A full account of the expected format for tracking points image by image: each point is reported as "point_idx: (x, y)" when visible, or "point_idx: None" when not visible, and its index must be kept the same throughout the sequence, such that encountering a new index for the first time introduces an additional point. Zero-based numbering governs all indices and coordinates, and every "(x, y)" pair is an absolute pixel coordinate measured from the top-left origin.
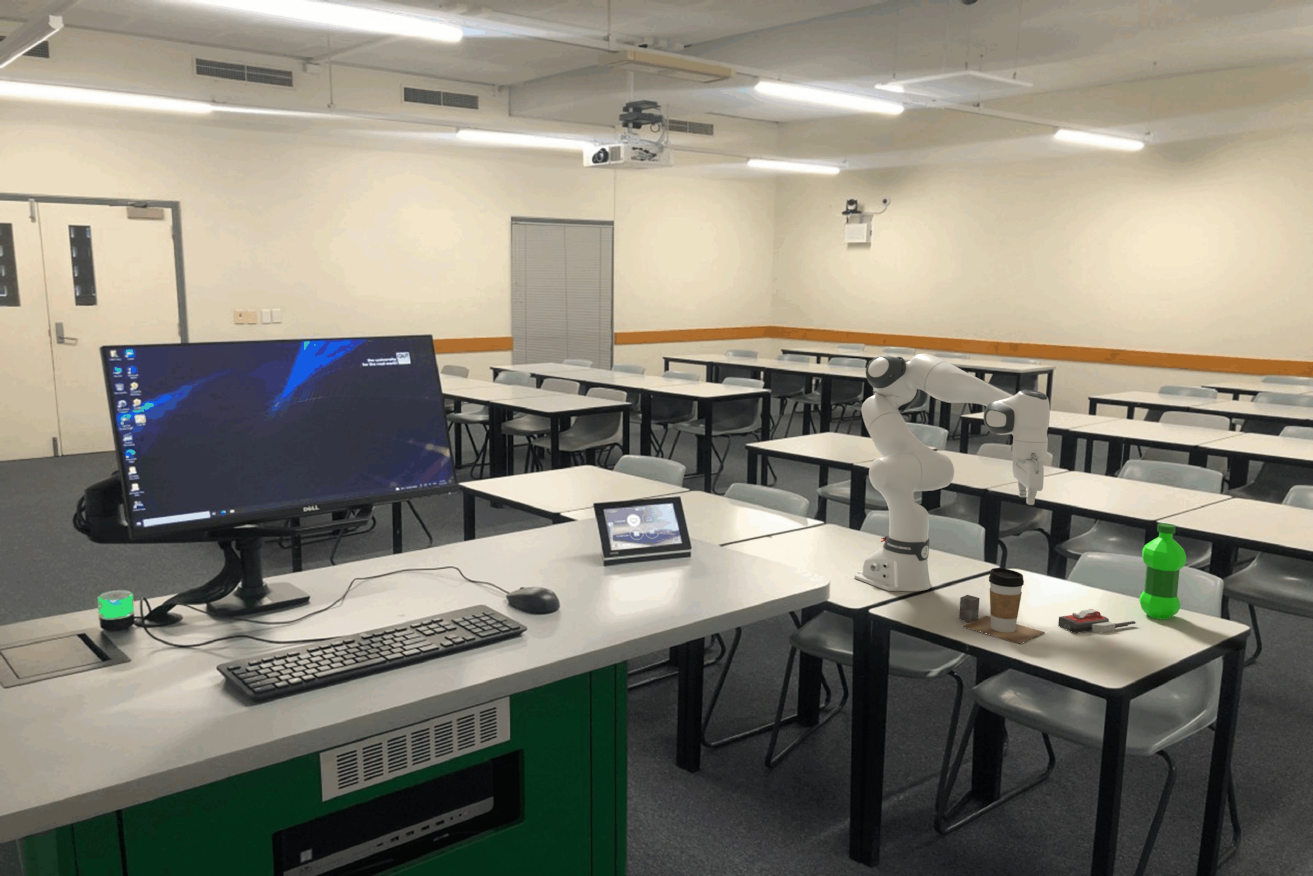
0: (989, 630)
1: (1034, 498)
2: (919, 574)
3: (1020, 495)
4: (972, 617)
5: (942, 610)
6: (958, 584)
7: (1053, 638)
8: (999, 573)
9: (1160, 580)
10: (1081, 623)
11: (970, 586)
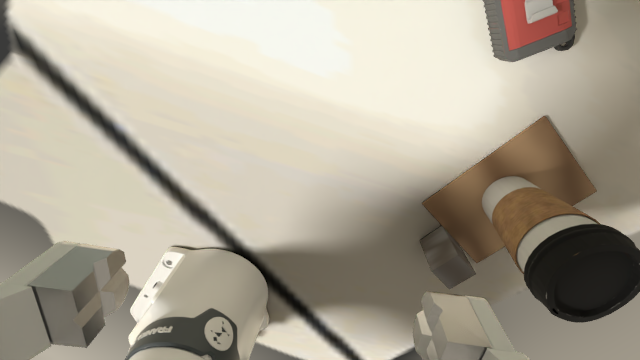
0: None
1: (520, 355)
2: (248, 301)
3: (120, 302)
4: (459, 246)
5: (375, 267)
6: (195, 192)
7: (578, 107)
8: (567, 292)
9: None
10: (573, 14)
11: (205, 170)
